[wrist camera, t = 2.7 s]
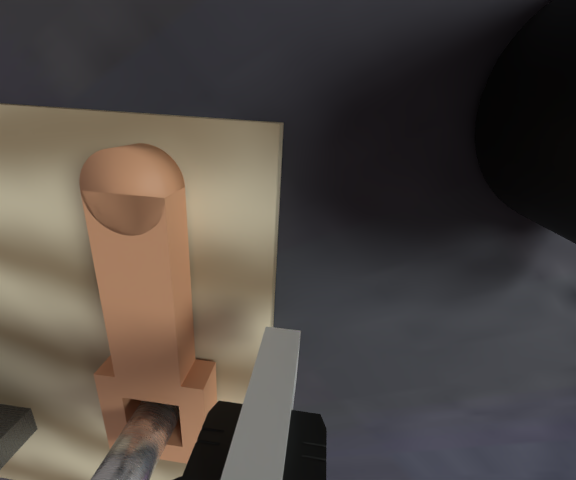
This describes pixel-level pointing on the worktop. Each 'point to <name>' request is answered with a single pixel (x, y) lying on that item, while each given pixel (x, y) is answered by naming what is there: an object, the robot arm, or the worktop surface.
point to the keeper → (14, 430)
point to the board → (82, 278)
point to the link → (145, 291)
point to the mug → (534, 121)
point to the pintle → (139, 443)
